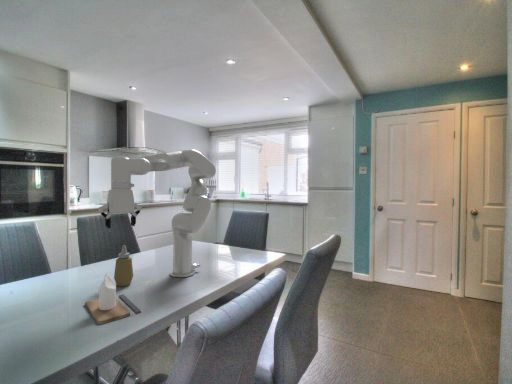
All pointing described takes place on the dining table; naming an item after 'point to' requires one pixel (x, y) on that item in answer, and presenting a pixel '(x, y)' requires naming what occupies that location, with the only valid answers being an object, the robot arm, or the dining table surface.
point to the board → (106, 312)
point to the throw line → (130, 303)
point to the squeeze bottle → (123, 268)
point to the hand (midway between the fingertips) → (121, 226)
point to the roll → (107, 294)
